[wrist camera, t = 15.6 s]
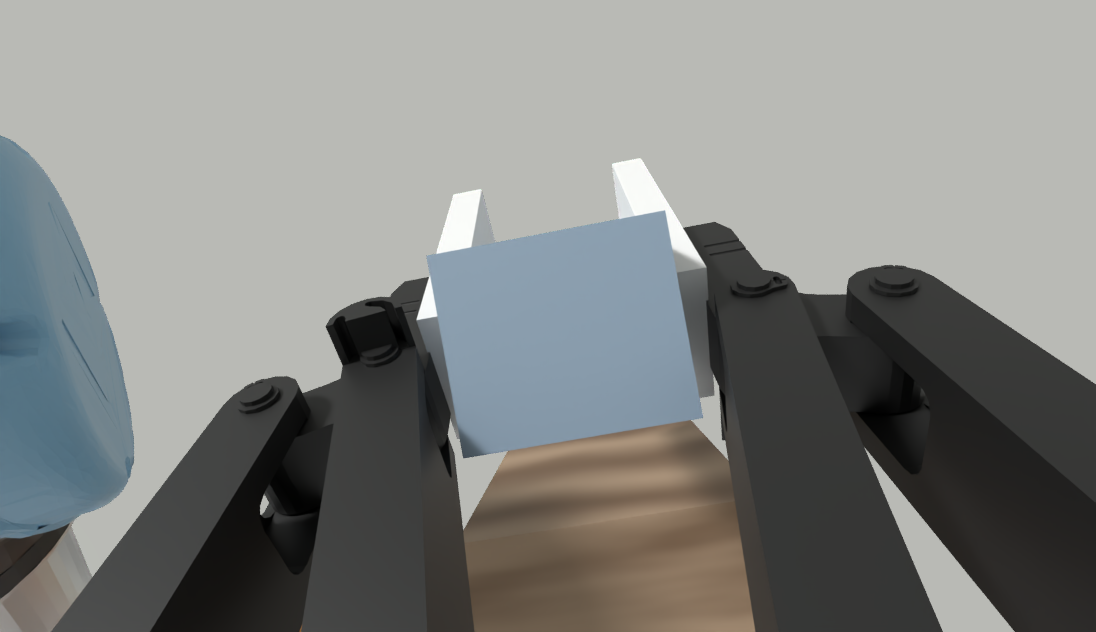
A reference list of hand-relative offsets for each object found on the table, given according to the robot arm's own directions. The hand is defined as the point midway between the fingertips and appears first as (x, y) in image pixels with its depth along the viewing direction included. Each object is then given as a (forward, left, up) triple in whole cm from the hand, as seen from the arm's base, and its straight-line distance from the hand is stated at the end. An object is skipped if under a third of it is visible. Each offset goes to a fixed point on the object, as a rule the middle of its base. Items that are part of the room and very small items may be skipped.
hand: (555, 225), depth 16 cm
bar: (+3, +3, -4) cm, 6 cm away
